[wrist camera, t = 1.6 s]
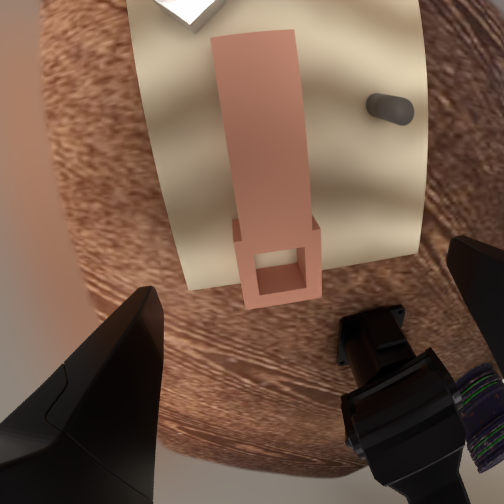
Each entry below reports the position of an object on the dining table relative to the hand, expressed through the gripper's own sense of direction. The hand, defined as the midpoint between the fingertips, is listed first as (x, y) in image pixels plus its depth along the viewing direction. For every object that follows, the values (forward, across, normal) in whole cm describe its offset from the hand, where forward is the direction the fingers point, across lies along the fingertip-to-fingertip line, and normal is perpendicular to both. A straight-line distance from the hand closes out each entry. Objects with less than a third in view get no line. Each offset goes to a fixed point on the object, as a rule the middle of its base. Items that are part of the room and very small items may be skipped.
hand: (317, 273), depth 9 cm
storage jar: (+13, -30, +37) cm, 49 cm away
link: (+12, 0, +1) cm, 12 cm away
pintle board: (+13, -2, -4) cm, 14 cm away
